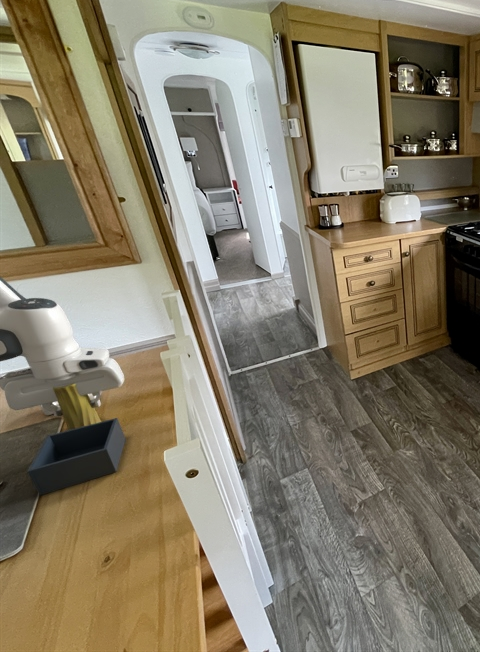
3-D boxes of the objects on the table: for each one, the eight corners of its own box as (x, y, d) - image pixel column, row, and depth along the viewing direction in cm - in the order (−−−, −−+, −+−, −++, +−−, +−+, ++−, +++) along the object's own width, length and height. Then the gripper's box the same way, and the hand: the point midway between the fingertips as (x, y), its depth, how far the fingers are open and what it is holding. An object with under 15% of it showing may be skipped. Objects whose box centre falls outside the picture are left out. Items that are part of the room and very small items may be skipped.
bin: (39, 495, 78) (26, 471, 76) (58, 457, 88) (47, 435, 85) (116, 471, 85) (106, 449, 82) (125, 439, 94) (117, 417, 92)
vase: (64, 439, 93) (42, 391, 88) (76, 424, 99) (56, 377, 93) (96, 433, 96) (76, 385, 90) (106, 418, 101) (87, 373, 96)
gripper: (-13, 382, 82) (14, 432, 87) (111, 358, 93) (128, 404, 98) (0, 368, 87) (24, 417, 92) (116, 347, 98) (132, 392, 103)
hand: (79, 410), depth 95 cm, fingers closed on vase, 5 cm apart
